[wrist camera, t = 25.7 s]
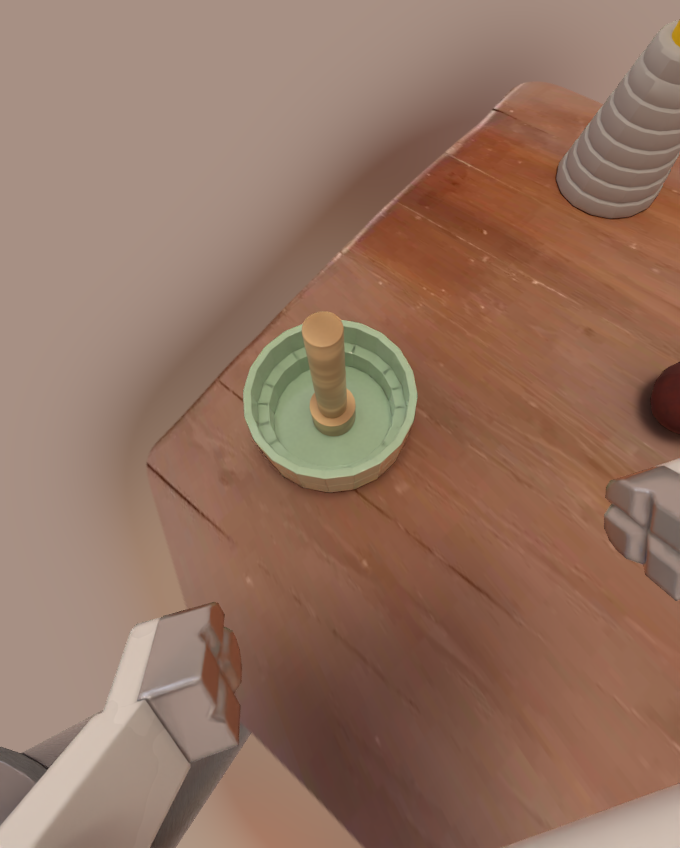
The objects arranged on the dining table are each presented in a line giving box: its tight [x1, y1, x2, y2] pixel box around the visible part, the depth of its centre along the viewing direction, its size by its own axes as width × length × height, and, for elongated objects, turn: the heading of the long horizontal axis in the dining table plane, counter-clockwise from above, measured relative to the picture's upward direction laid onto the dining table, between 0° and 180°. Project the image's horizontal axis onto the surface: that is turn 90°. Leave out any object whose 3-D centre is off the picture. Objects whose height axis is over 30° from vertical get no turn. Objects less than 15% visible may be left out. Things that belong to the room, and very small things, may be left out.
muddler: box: [302, 311, 356, 436], centre depth 35 cm, size 4×4×16 cm
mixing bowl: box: [243, 320, 418, 492], centre depth 40 cm, size 15×15×6 cm
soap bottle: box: [556, 20, 680, 219], centre depth 43 cm, size 12×12×20 cm
